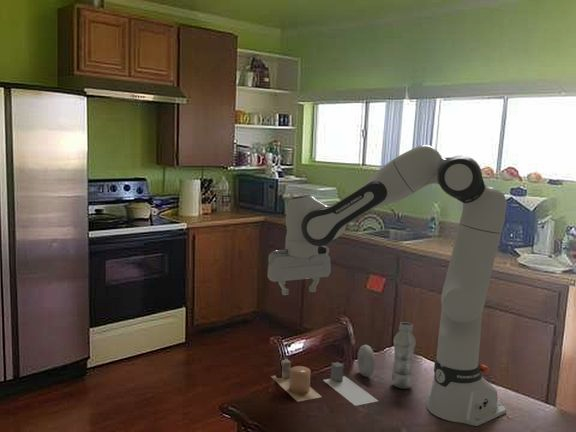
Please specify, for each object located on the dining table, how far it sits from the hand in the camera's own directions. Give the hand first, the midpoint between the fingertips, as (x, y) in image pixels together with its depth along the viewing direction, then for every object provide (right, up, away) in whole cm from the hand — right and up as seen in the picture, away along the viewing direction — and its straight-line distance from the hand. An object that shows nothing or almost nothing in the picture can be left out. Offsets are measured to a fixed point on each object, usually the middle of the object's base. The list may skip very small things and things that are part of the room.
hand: (299, 293), depth 167 cm
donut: (+21, -28, +9) cm, 36 cm away
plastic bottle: (+32, -29, +2) cm, 43 cm away
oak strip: (-1, -28, -4) cm, 29 cm away
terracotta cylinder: (0, -28, -6) cm, 28 cm away
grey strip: (+15, -29, -5) cm, 33 cm away
